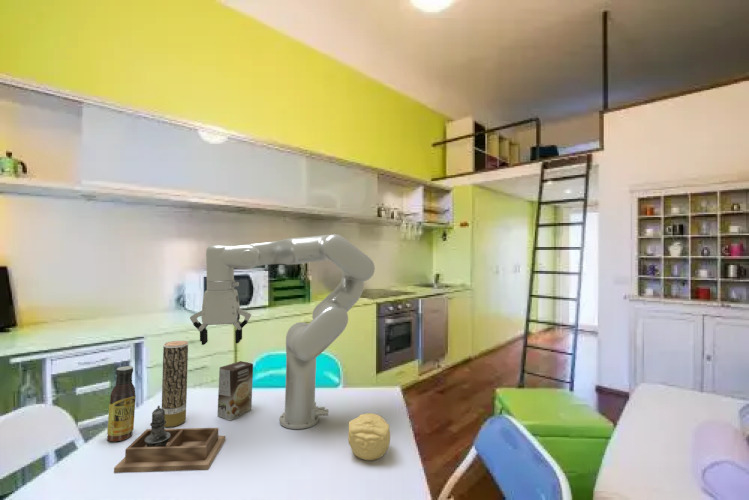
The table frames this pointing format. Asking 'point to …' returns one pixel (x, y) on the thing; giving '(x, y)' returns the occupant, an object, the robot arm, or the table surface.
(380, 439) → the sculpture
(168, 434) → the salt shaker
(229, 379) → the coffee box
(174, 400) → the paper tube
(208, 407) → the table surface
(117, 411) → the sauce bottle
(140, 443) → the condiment rack
